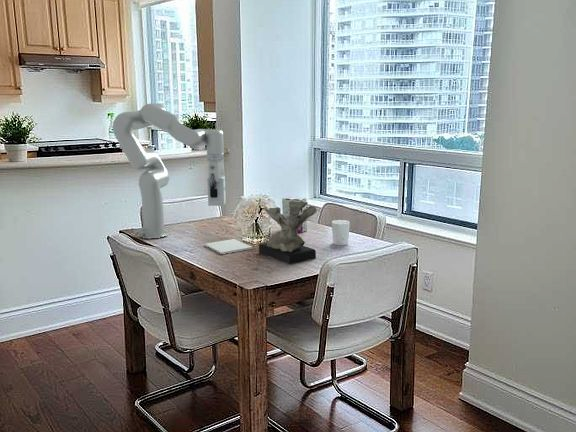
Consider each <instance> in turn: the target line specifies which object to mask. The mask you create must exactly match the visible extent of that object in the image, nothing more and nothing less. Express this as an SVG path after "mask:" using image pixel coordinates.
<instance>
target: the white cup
mask: <svg viewBox="0 0 576 432" xmlns="http://www.w3.org/2000/svg"><path fill="white" fill-rule="evenodd" d="M350 224H351V223H350V221H349V220H344V219H336V220H332V221H331V231H332V233H331V235H332V244H333V246H347V245H349V238H350Z"/></svg>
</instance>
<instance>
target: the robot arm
mask: <svg viewBox="0 0 576 432" xmlns="http://www.w3.org/2000/svg"><path fill="white" fill-rule="evenodd" d="M151 126H154V127H157V128H158V129H160V130H162V131H164V132H166V133H167V134H169V136H170V137H172V138H174V140H175V141H177V142H180V143H181V144H184V145H186V146H188V147H191V148H196V147H202V146H203V147H204V146H206V153H207V154H206V158H207V159H206V160H207V162H208V178H209V183H210V197H211V198H217V189H216V188H217V182H218V183H220V178H222V177H224V176H225V177H226V174H225V171H226V170H225V165H224V164H225V163H224V162H225V149H224V148H225V145H224V132H223V130H221V129H205V128H197V129H192V128H190V127H188V126H186V125H185V124H182V123H181V122H180V121H179V118H178V116H177V115H176V114H174V113H171V112H170V111H167V109H166V107H165V106H164V105H162V104H161V103H158V102H157V103H155V102H154V103H146V104H144V105H143V106H142V107H141V108H140V109H139V110H136V111H125V112H121V113H119V114H117V116H115V118H114V119H113V122H112V132H113V135H114V136H115V139H116V141H117V142H118V144H119V145H120V147H121V149H122V151H123V152H124V155H125V156H126V158H127V159H128V161H129V163H130V165H131V167H132V168H133V169H135V170H136V171H142V170H143V171H144V170H145V171H144V172H143V173H142V172H141V174H140V176H139V178H138V187H139V190H140V197H141V205H142V206H141V208H142V221H143V226H142V227H141V228H140V229H135V230H133V234H134V235H138V236H139V235H140V237H141V238H142V237H144V238H159V239H161V238H160V237H164V236H166V237H168V236H167V235H169V232H167V231H165V219H164V203H163V202H164V199H163V196H162V192H161V189H162V188H164V187H165V186H167V185H168V184H169V181H170V174H169V172H168V169H167V168H166V167H165V164H164V163H163V161H162V159H161V158H160V156H159V154H158V153H157V152H156V151H155V150H154V149H152V148H149V147H148V148H147V147H143V145H142V143H141V142H140V140H139V138H138V137H137V136H136V135H135V134H134V132H133V131H134V130H141V129H144V128H147V127H151ZM214 178H215V181H216V182H213V180H214ZM214 184H215V185H214ZM144 238H143V239H144ZM164 238H165V237H164Z"/></svg>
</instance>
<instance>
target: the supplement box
mask: <svg viewBox="0 0 576 432" xmlns="http://www.w3.org/2000/svg"><path fill="white" fill-rule="evenodd" d="M213 182H216V181H215V178H214V180H213ZM214 185H215V184H214ZM216 189H217V198H211V197H210V183H209V177H207V200H208V201H207V205H208V206H210V207H221V206H222V207H224V206H225V204H226V203H227V201H226V199H227V196H226V195H227V194H226V175H225V176H224V177H222V178H220V183H218V182H217V188H216Z"/></svg>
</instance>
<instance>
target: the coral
mask: <svg viewBox="0 0 576 432" xmlns="http://www.w3.org/2000/svg"><path fill="white" fill-rule="evenodd" d="M289 203H290V204H289V206H290V207H289V208H290V215H289V216H286V217H287V219H286V218H285V217H284V216H283V213H282V212H281V207H269V208H267V207H265V208H264V209H263V210H264V211H265V212H266V213H267V215H268V216H269V217H270V218H271V219H272V220H274V221H275V222H276V223H277V224H278V225H279V226H280V228H281V229H280V231H279V230H278V231H277V232H275V233H273V234H272V235H271V236H270V237H269V239H268V241H267V242H264V243H263V242H262V243H260V244H258V253H259V254H261V255H263V256H265V257H269V258H271V259H274V260H277V261H279V262H282V263H285V264H287V265H293V264H297V263H302V262H303V263H304V262H306V261H311V260H314V259H317V254H316V249H315V248H311V247H308V246H305V244H306V241H305V240H304V239H303V238H302V237H301V236H300V235H298V234H299V232H297V230H298V228H299V226H300V225H301V224H302V223H303V222H305V221H306V219H309V218H310V217H312V216H314V215H315V214H316V213H317V212H318V211H317V208H316V206H314V205H313V206H312V205H309V206H308V204H309V203H308V201H306V202H293V201H291V202H289ZM305 206H306V207H307V206H308V208H306V209H305V210H304V211H303V213H302V214H301V215H298V214H299V212H300V210H301V209H302V208H303V207H305Z"/></svg>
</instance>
